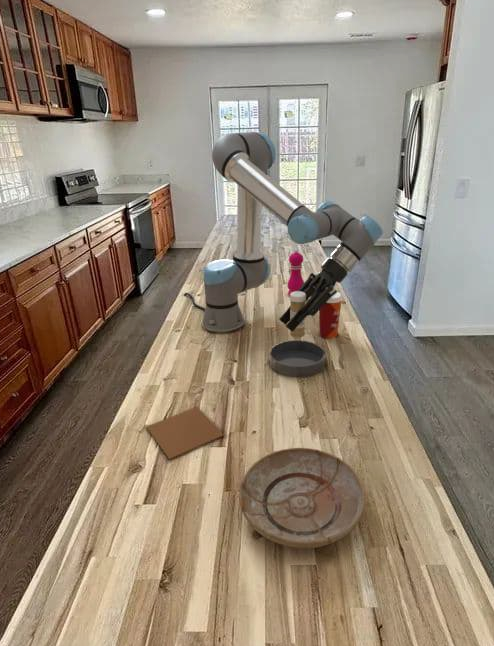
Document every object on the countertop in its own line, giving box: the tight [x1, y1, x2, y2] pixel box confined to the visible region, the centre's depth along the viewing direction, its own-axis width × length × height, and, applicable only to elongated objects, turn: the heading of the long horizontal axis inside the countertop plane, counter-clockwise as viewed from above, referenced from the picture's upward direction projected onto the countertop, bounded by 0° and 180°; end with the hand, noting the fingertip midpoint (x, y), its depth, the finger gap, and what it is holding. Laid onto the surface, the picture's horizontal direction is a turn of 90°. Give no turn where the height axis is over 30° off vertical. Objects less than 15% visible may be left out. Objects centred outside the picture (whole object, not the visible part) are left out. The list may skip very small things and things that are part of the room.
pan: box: [268, 339, 326, 378], centre depth 134 cm, size 17×17×4 cm
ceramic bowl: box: [238, 447, 366, 549], centre depth 83 cm, size 23×24×5 cm
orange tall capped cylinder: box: [318, 291, 343, 339], centre depth 149 cm, size 8×8×15 cm
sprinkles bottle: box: [289, 291, 307, 339], centre depth 128 cm, size 5×5×14 cm
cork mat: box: [146, 406, 225, 461], centre depth 106 cm, size 14×14×1 cm
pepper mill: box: [286, 249, 305, 297], centre depth 183 cm, size 7×7×20 cm
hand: (285, 325), depth 128 cm, fingers closed on sprinkles bottle, 4 cm apart
